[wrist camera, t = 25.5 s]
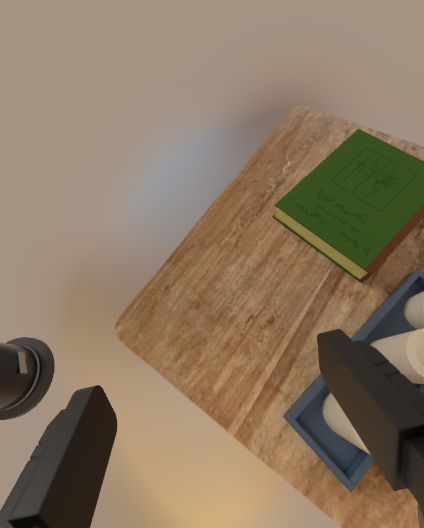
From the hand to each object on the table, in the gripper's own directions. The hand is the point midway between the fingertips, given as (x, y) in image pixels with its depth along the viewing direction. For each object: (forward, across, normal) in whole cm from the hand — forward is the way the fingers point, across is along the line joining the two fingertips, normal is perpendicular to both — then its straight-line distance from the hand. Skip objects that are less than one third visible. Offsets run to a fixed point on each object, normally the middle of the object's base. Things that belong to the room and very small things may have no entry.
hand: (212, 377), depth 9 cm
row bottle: (+19, -22, +23) cm, 37 cm away
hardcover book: (+38, -30, +5) cm, 49 cm away
